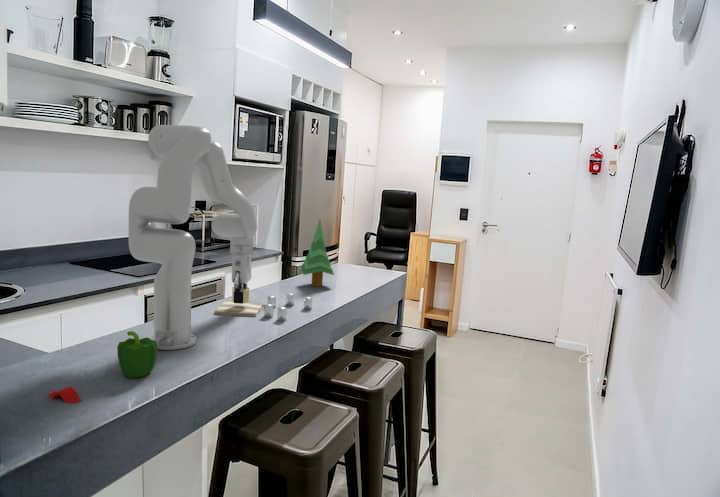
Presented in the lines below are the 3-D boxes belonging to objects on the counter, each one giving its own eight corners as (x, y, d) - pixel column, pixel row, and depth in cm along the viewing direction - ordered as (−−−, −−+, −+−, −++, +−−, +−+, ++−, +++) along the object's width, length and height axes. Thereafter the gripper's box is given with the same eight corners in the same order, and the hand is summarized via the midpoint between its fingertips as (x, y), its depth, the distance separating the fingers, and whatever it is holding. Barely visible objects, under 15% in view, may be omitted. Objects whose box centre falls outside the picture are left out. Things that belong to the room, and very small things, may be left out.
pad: (255, 316, 170) (256, 313, 170) (214, 314, 170) (214, 311, 169) (263, 305, 184) (263, 303, 183) (225, 303, 183) (225, 301, 183)
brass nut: (247, 304, 174) (247, 289, 173) (230, 303, 174) (230, 288, 173) (250, 300, 179) (250, 286, 178) (233, 299, 179) (234, 285, 178)
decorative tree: (305, 280, 231) (308, 215, 226) (338, 284, 227) (342, 217, 223) (294, 286, 218) (297, 217, 213) (328, 290, 214) (332, 219, 210)
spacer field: (306, 322, 166) (307, 310, 166) (258, 319, 166) (258, 307, 166) (313, 304, 189) (313, 294, 189) (270, 302, 189) (270, 291, 188)
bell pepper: (163, 374, 118) (163, 333, 117) (128, 384, 112) (127, 341, 111) (146, 364, 124) (146, 325, 122) (112, 372, 118) (111, 331, 116)
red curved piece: (44, 397, 104) (44, 387, 104) (57, 392, 107) (57, 382, 107) (72, 406, 101) (72, 396, 101) (84, 400, 104) (84, 390, 104)
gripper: (247, 253, 165) (245, 307, 168) (257, 246, 182) (256, 295, 185) (224, 252, 165) (223, 306, 168) (236, 245, 182) (235, 294, 185)
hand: (240, 300), depth 176 cm, fingers closed on brass nut, 5 cm apart
